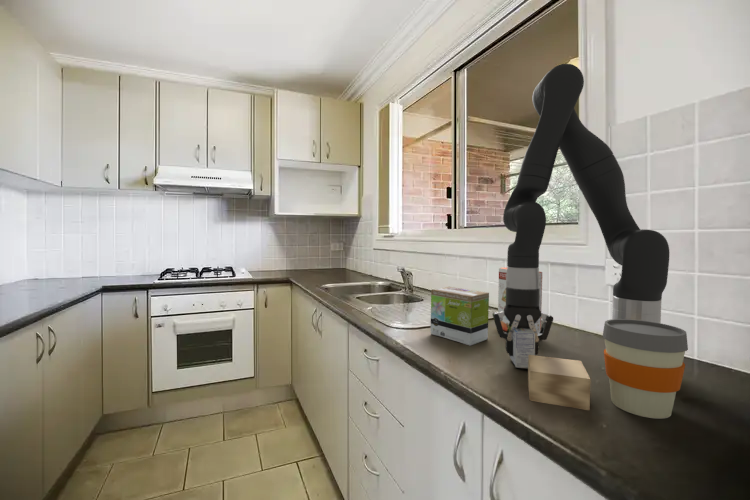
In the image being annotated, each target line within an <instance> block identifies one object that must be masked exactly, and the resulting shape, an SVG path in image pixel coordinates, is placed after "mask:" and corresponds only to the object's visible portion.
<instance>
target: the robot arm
mask: <svg viewBox="0 0 750 500" xmlns="http://www.w3.org/2000/svg"><path fill="white" fill-rule="evenodd" d="M584 84H585V80H584V74H583V73H582V71H581V69H580V68H579V67H578V66H576V65H574V64H572V63H560V64H558V65H556V66H554V67H553V68H552V69H550V70H548V71H547V73H546V74H545V75H544V76H543V78H541V80H540V81H539V83H538V84H536V86H535V88H534V89H533V92H532V97H531V100H532V105H533V107H534V109H535V111H536V113H537V114H538V116H539V119H538V120H539V121H537V125H536V128H535V131H534V133H533V135H532V138H531V141H530V142H529V144H528V147H527V149H526V151H525V154H524V156H523V159H522V163H521V167H520V170H519V173H518V178H517V183H516V185H515V187H514V189H513V190H512V193H511V194H510V196H509V198H508V201H507V203H506V205H505V208H504V211H503V217H502V219H503V220H502V221H503V224H504V226H505V228H506V229H507V230H508V231H511V232H513V233H515V238H514V241H513V242H511V243H510V244H509V245H508V247H507V257H506V258H507V262H506V265H507V267H506V268H507V273H506V306H505V309H504V311H502V312H498V311H493V312H492V317H493V321H494V324H495V328H496V331H497V334H498V337H499V338H501V339H504V340H505V351H506V353H507V354H508V355H509V357H510V356H513V340H512V338H513V332H514V330H516V329H517V328H522V327H523V328H529V329H530V330H533V331H534V333H535V355H536V356H538V354H539V342H540V341H546V340H547V339H548V337H549V333H550V331H551V327H552V325H553V322H554V316H552V315H551V314H549V313H544V312H543V313H542V310H541V311H540V309H539V298H540V275H539V272H540V268H539V267H540V266H539V264H540V249H541V248H540V247H541V246H542V245H541V244H542V242H543V237H544V233H545V231H546V230H545V229H546V225H547V215H546V212H545V211H546V210H545V209H544V208H543V205H541V204H540V203H538V202H537V200H538V199H539V197H541V196H543V195H544V194H546V192H547V190H548V188H549V185H550V182H551V178H552V174H553V170H554V168H555V167H554V166H555V162H556V158H557V155H558V152H559V150H560V153H561V154H562V156H563V158H564V160H565V162H566V164H567V167H568V168H569V170H570V173H571V174H572V176H573V178H574V180H575V183H576V184H577V186H578V188H579V190H580V192H581V193H582V195H583V197H584V199H585V201H586V203H587V205H588V206H589V208H590V210H591V212H592V214H593V215H594V217H595V219H596V221H597V223H598V226H599V228H600V231H601V233H602V237H603V239H604V243H605V245H606V247H607V250H608V253H609V255H610V257H611V258H612V259H613V260H614V261H615V263H617V264H618V265H620V266H621V275H620V278H619V280H618V282H616V283H614V284H613V287H612V308H611V309H612V311H611V319H631V320H642V321H650V322H656V323H661V320H662V300H663V299H662V297H663V292H664V291H665V289H666V286H667V283H668V276H669V275H668V274H669V267H670V265H669V264H670V245H669V243H668V240H667V238H666V237H665V236H664V235H663V234H661V233H660V232H659V231H656V230H653V229H641V228H640V227H639V225H638V224H637V223H636V221H635V219H634V218H633V215H632V213H631V211H630V210H629V206H628V202H627V196H626V183H625V176H624V173H623V170H622V168H621V166H620V164H619V161H618V160H617V158H616V156H615V154H614V153H613V151H612V149H611V147H610V146H609V145H608V144H607V143H606V142H604V140H603V139H601V138H600V137H598V136H597V135H596V134H594V133H593V132H591V131H590V130H589V129H588V128H587V127H586V126H585V125H584V124H583V122H582V121H581V119H580V118H579V115H578V114H577V111H576V110H575V107H576V104H577V103H578V101H579V98H580V96H581V94H582V91H583V88H584ZM503 316H506V318H507V319H508V320H509V325H508V329H507V331H504V330H503V328H502V325H501V321H502V320H503ZM540 317H541V330H540V333H539V334H537V331H536V328H535V325H534V324H535V323H536V322H537V321H538V319H539V318H540ZM661 324H662V323H661Z"/></svg>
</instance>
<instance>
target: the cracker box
mask: <svg viewBox="0 0 750 500" xmlns="http://www.w3.org/2000/svg"><path fill="white" fill-rule="evenodd" d="M506 273H507V267H498V295H497V296H498V297H497V299H498V300H497V301H498V302H497V309H498V310H497V313H498V312H502V311H504V309H505V306H506ZM539 275H540V298H539V309H540V311H541V312H542V306H543V305H542V302H543V301H542V300H543V294H542V293H543V272H542V271H539ZM501 325H502V328H503V331H504V332H507V329H508V325H509V320H508V319H507V318H506V316H503V320H502V321H501ZM534 325H535V328H536V331H537V334H539V333H540V330H541V327H542V321H541V317H540V318H539V319H538V321H537V322H536V323H535V324H534Z"/></svg>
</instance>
